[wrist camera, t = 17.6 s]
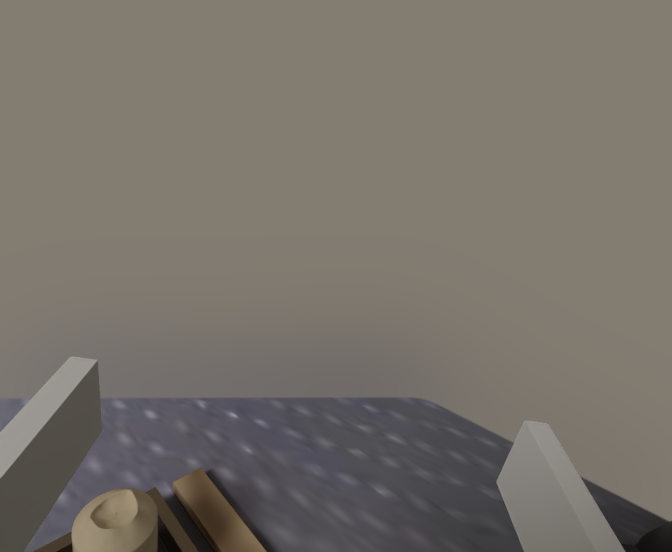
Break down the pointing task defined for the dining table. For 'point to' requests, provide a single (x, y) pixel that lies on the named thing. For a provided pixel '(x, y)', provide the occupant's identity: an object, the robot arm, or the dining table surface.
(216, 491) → the strip
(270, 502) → the dining table surface
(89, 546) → the candle
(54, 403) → the robot arm
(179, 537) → the wooden tray
